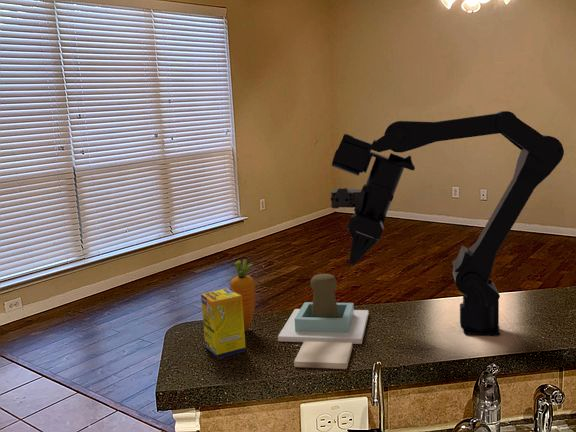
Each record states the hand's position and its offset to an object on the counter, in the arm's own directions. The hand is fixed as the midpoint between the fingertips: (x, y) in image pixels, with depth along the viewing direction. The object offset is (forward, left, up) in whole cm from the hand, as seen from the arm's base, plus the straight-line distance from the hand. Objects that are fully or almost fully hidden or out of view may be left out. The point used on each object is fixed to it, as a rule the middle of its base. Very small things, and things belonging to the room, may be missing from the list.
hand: (353, 258), depth 113 cm
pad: (+4, +15, -14) cm, 21 cm away
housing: (+6, +1, -14) cm, 16 cm away
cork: (+6, +1, -14) cm, 16 cm away
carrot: (+22, +4, -14) cm, 27 cm away
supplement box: (+23, +14, -14) cm, 30 cm away
